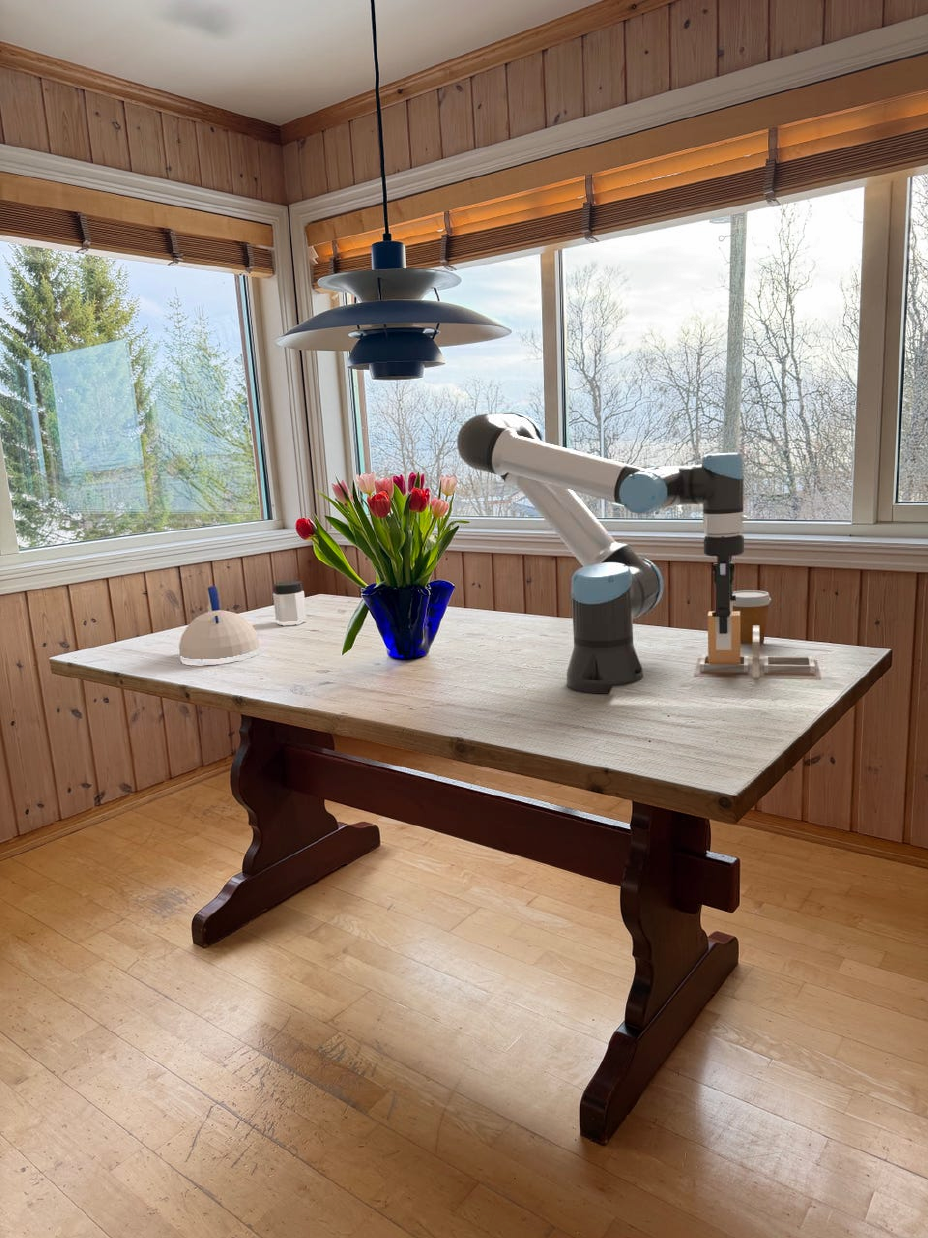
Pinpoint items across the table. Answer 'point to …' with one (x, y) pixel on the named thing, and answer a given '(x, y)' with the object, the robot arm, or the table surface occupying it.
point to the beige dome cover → (217, 633)
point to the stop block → (734, 653)
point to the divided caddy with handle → (761, 666)
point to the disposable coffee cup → (751, 613)
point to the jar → (289, 601)
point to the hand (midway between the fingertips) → (724, 641)
